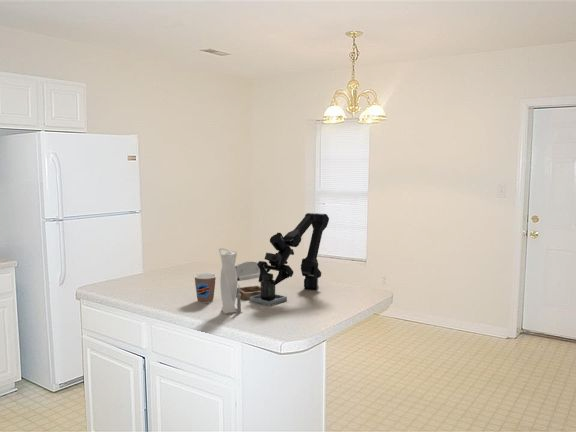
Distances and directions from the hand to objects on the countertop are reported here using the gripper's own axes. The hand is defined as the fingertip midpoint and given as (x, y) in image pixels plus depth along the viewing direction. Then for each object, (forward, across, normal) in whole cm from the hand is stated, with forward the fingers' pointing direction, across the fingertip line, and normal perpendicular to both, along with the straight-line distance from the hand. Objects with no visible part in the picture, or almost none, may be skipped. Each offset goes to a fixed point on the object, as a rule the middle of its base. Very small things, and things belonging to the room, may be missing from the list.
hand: (266, 283), depth 235 cm
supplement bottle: (+5, 0, +7) cm, 8 cm away
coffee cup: (+19, -22, -6) cm, 30 cm away
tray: (+5, 0, +7) cm, 9 cm away
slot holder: (+3, -13, +9) cm, 16 cm away
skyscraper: (+22, -1, -10) cm, 24 cm away
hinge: (-16, -43, +29) cm, 54 cm away
